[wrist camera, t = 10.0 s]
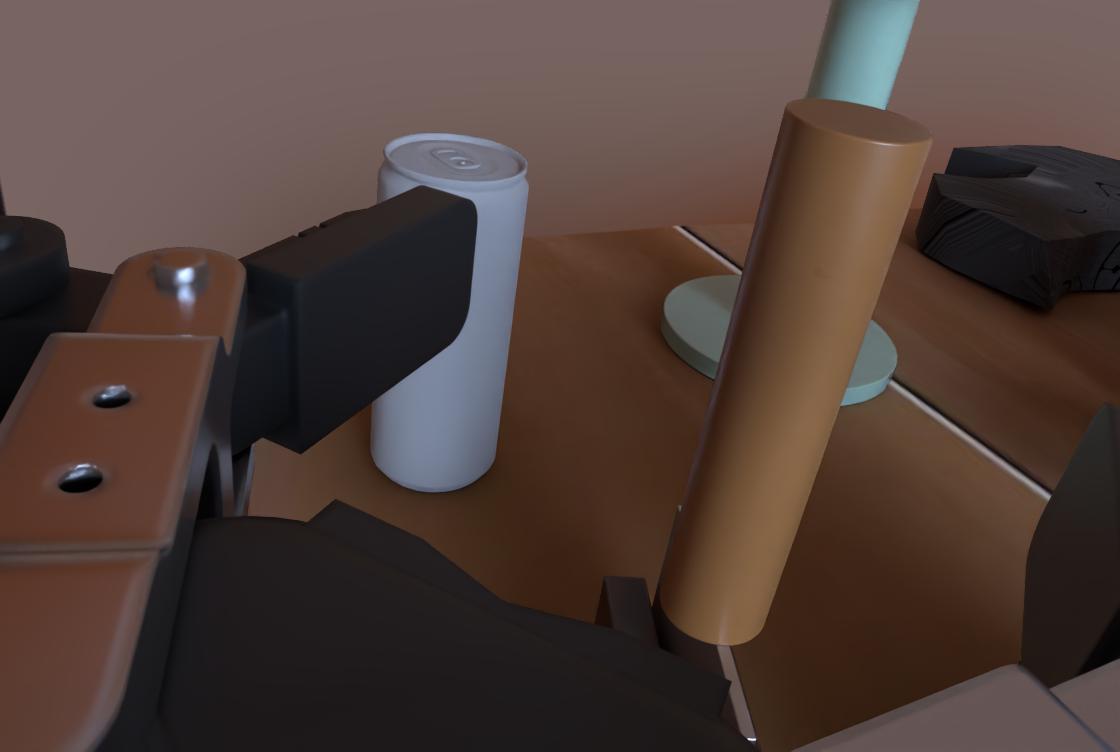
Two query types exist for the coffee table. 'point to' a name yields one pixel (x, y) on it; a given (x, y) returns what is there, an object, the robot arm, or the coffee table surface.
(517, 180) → the beverage can
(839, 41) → the cake stand
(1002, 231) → the mask
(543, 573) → the coffee table surface
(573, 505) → the coffee table surface
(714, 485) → the cake cutter
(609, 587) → the cutter stand
